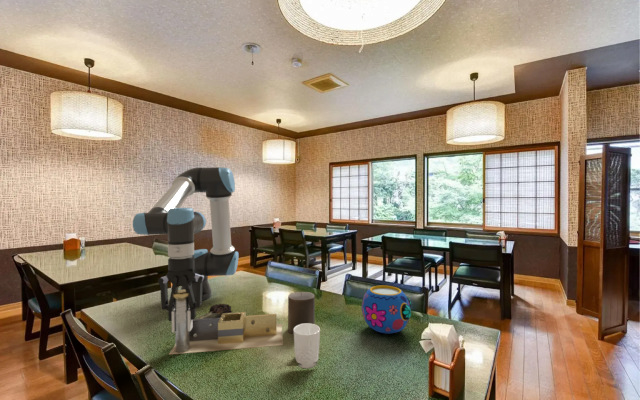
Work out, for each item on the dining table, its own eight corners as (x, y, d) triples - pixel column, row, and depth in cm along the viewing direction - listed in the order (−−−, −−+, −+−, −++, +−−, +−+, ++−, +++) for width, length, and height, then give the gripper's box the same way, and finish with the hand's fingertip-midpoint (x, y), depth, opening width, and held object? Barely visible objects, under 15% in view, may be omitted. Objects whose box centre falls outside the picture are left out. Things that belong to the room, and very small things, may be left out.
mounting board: (184, 334, 105) (184, 330, 105) (281, 327, 111) (281, 323, 111) (168, 358, 90) (168, 354, 90) (282, 348, 95) (282, 344, 95)
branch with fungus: (197, 333, 107) (197, 318, 107) (186, 329, 110) (185, 314, 110) (234, 315, 122) (233, 302, 122) (222, 313, 125) (222, 300, 125)
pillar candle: (304, 342, 99) (304, 298, 99) (282, 335, 104) (282, 293, 104) (319, 331, 107) (319, 290, 107) (298, 325, 112) (298, 286, 112)
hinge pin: (176, 345, 95) (175, 289, 94) (194, 344, 95) (193, 288, 95) (170, 354, 89) (169, 295, 89) (189, 352, 90) (188, 294, 90)
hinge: (190, 335, 102) (189, 315, 102) (276, 329, 106) (276, 309, 106) (182, 347, 94) (182, 325, 94) (276, 339, 98) (276, 318, 98)
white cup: (293, 355, 90) (293, 323, 90) (319, 354, 91) (318, 322, 91) (293, 370, 83) (293, 335, 83) (321, 369, 83) (321, 334, 83)
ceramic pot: (411, 345, 96) (411, 300, 96) (358, 338, 102) (357, 295, 101) (411, 323, 113) (410, 284, 113) (365, 318, 118) (365, 281, 118)
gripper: (147, 260, 87) (148, 337, 87) (206, 257, 89) (207, 333, 90) (157, 255, 94) (158, 326, 95) (212, 253, 97) (213, 322, 97)
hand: (182, 329), depth 92 cm, fingers closed on hinge pin, 4 cm apart
